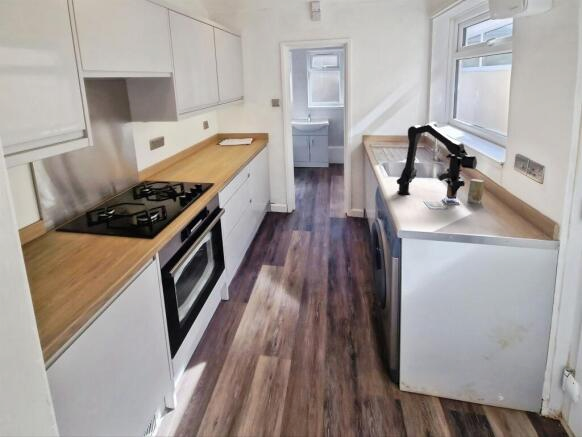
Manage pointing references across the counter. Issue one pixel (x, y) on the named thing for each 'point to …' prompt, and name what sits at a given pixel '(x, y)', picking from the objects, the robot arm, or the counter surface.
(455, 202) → the tray
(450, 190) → the stamp
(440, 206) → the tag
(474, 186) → the skincare box
